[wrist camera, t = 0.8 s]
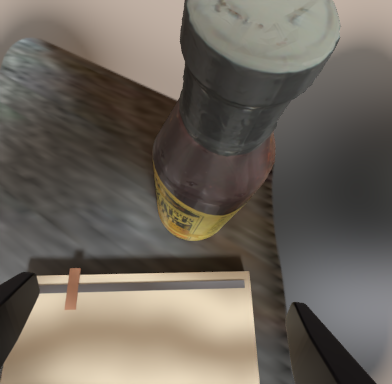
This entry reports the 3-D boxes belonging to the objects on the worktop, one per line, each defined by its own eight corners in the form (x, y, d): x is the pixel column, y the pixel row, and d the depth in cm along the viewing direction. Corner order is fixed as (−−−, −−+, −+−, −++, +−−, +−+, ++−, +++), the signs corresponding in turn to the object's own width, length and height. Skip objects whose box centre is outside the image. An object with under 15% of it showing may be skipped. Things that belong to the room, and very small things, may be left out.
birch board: (256, 410, 20) (263, 420, 19) (2, 428, 18) (-12, 440, 17) (243, 266, 24) (248, 264, 22) (31, 270, 22) (21, 269, 21)
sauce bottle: (149, 192, 25) (95, -75, 7) (209, 172, 27) (298, -96, 8) (172, 258, 24) (183, 129, 5) (236, 233, 25) (430, 60, 6)
